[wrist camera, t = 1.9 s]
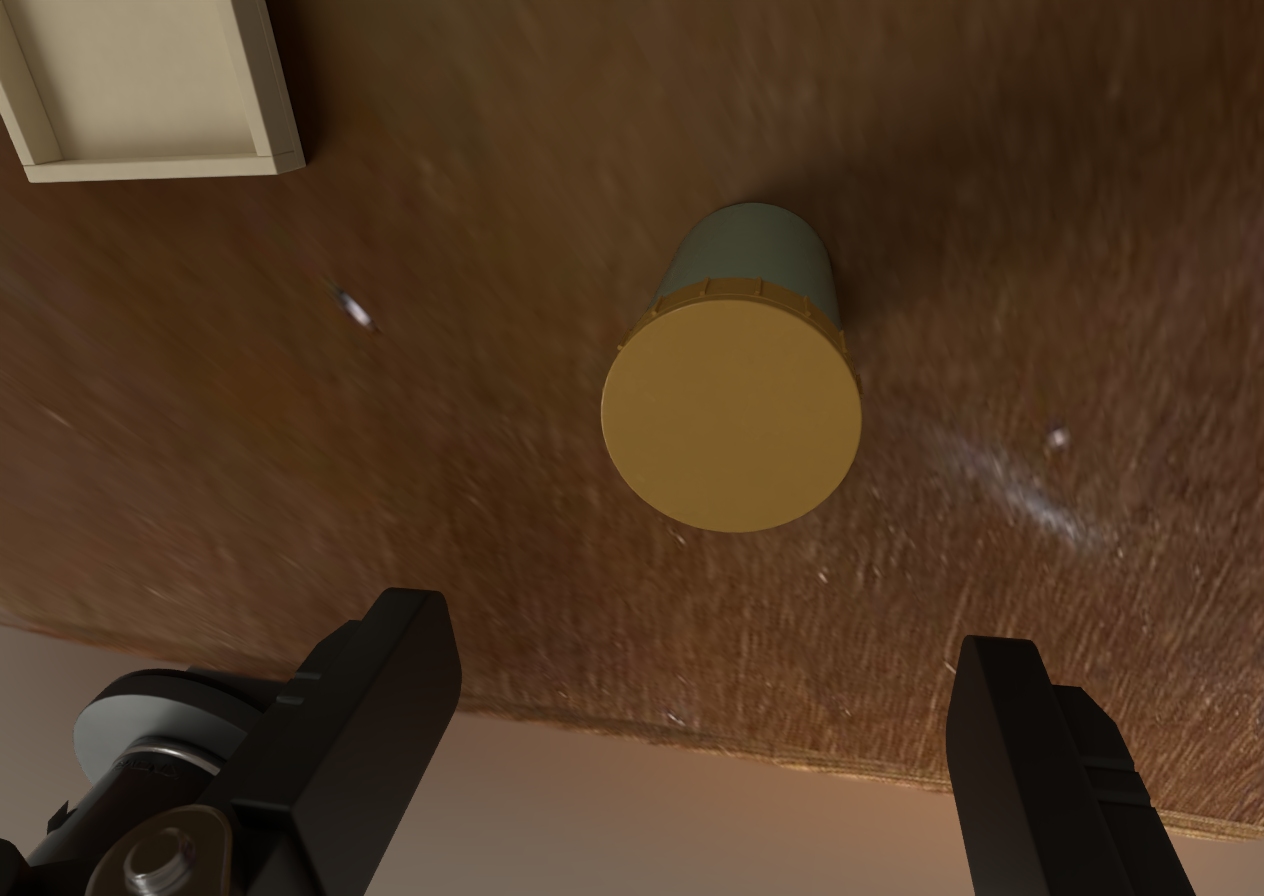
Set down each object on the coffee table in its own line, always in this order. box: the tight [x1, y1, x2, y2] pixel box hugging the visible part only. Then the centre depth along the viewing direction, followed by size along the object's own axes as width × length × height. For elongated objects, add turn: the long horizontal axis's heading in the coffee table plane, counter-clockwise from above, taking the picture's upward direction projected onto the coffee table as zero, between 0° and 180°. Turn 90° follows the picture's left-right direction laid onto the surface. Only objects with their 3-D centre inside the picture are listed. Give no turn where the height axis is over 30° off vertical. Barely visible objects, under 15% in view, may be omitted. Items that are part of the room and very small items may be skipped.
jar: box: [645, 203, 843, 332], centre depth 22 cm, size 6×6×10 cm
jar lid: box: [601, 276, 864, 532], centre depth 17 cm, size 6×6×2 cm
